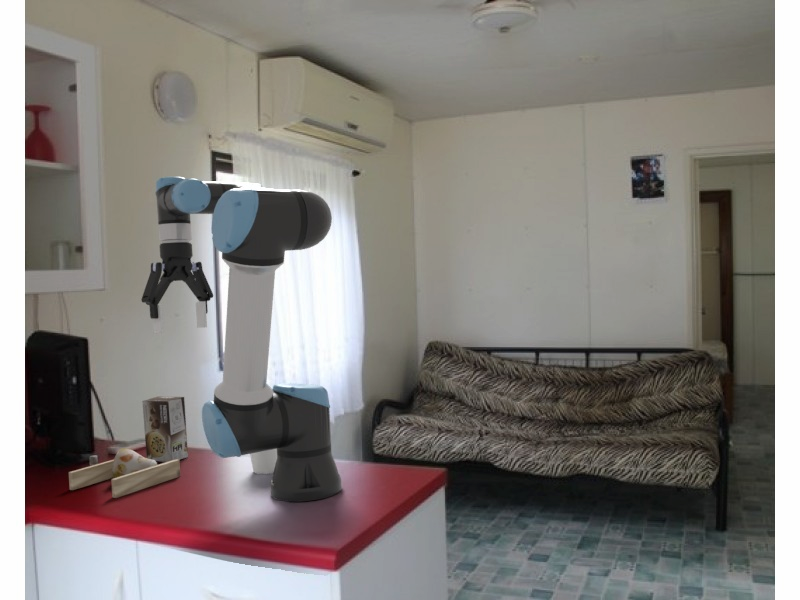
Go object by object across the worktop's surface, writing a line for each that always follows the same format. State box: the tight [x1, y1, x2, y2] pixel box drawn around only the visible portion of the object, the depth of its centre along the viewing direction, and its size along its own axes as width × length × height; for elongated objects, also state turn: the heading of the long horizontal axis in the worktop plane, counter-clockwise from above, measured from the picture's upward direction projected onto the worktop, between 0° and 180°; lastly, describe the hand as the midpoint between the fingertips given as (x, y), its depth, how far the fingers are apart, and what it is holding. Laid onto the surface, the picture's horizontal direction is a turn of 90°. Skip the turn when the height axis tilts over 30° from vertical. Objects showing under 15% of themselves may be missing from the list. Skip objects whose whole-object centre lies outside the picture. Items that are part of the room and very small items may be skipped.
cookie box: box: [141, 396, 189, 463], centre depth 192 cm, size 9×6×16 cm
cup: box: [249, 449, 277, 475], centre depth 176 cm, size 9×9×12 cm
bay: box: [68, 459, 181, 499], centre depth 171 cm, size 16×18×4 cm
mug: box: [112, 448, 158, 478], centre depth 173 cm, size 8×10×10 cm
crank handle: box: [88, 455, 99, 466], centre depth 181 cm, size 10×2×5 cm, turn 149°
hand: (180, 330), depth 177 cm, fingers open, 13 cm apart
